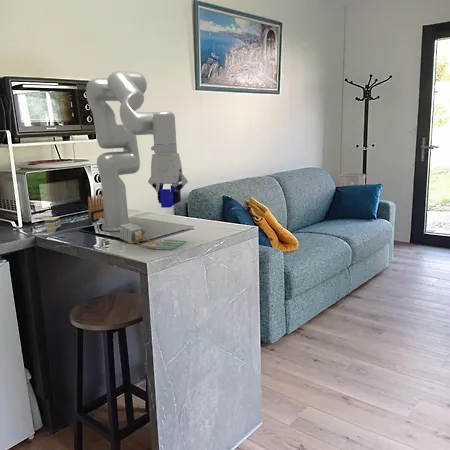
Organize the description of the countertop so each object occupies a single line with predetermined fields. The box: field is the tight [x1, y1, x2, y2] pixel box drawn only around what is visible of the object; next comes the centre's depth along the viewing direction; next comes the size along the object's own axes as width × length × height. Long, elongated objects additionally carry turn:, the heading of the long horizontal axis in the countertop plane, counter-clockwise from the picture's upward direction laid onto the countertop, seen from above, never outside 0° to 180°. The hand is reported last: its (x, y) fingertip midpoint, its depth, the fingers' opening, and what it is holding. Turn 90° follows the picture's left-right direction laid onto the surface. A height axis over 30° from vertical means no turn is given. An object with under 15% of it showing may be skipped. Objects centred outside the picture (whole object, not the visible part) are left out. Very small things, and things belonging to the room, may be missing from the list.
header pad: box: [146, 239, 188, 251], centre depth 161 cm, size 10×12×1 cm
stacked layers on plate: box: [44, 216, 62, 233], centre depth 192 cm, size 10×9×6 cm
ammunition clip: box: [87, 193, 105, 224], centre depth 209 cm, size 11×2×12 cm, turn 150°
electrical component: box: [119, 222, 164, 250], centre depth 163 cm, size 24×6×5 cm, turn 48°
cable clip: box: [160, 184, 182, 209], centre depth 157 cm, size 12×4×6 cm, turn 167°
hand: (169, 202), depth 157 cm, fingers closed on cable clip, 5 cm apart
